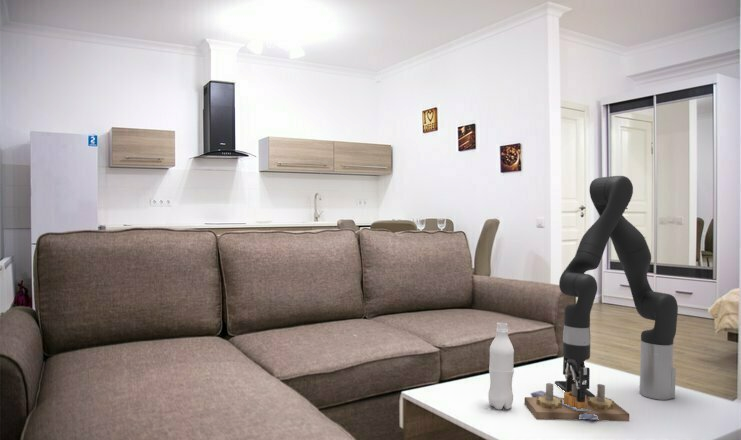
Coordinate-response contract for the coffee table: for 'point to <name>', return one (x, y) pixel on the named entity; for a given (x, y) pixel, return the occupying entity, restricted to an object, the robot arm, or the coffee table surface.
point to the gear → (573, 401)
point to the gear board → (553, 409)
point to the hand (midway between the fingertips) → (575, 396)
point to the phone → (563, 383)
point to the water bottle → (501, 369)
